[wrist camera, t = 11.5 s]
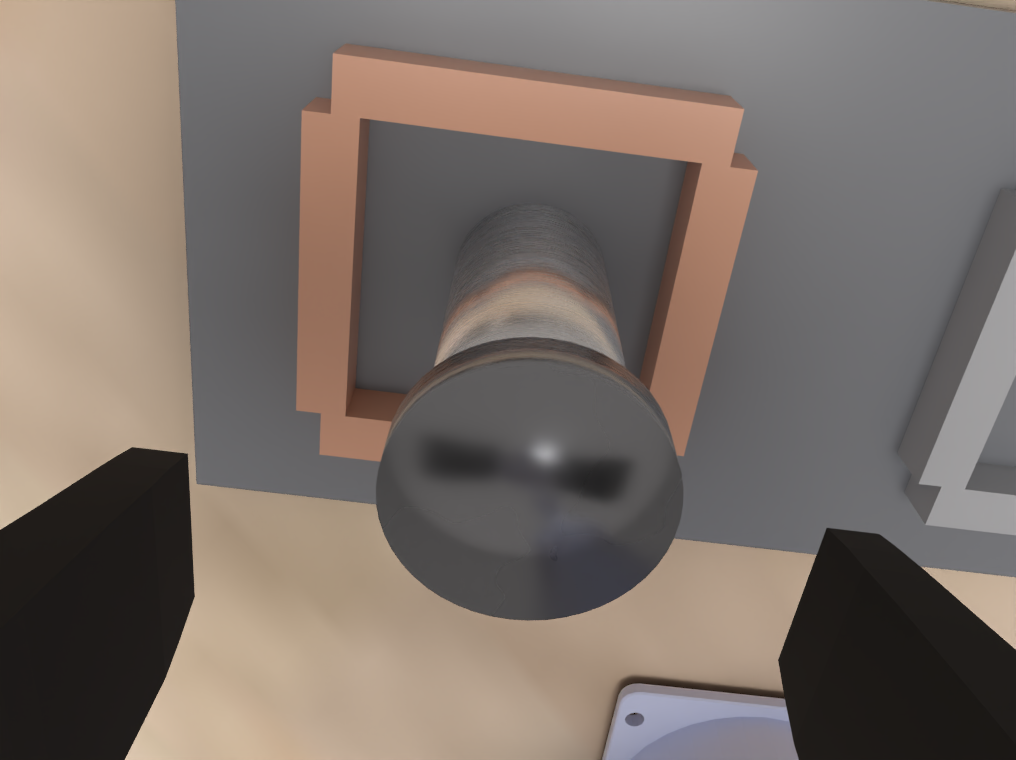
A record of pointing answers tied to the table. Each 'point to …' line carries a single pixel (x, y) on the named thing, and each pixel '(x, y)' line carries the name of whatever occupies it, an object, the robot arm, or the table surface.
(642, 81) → the dock board
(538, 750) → the table surface
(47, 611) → the robot arm
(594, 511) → the pin
